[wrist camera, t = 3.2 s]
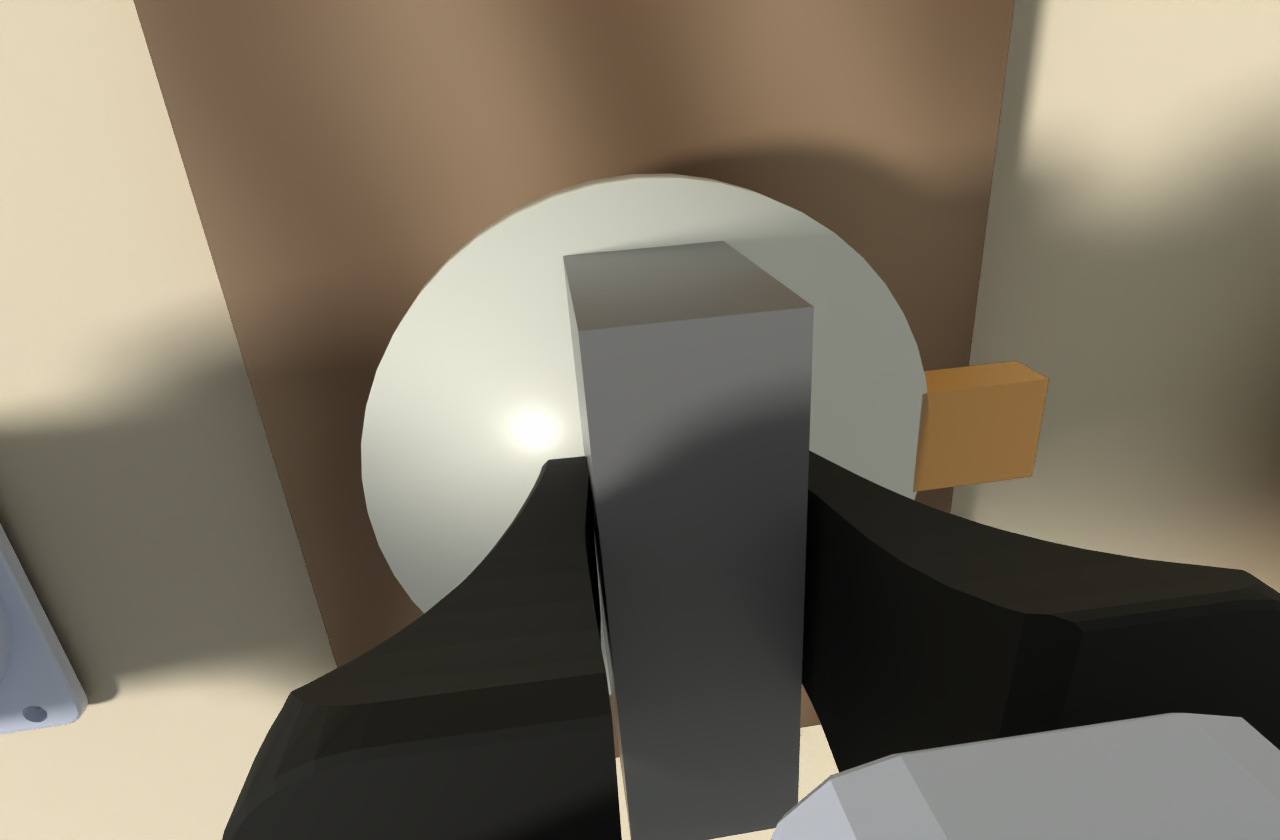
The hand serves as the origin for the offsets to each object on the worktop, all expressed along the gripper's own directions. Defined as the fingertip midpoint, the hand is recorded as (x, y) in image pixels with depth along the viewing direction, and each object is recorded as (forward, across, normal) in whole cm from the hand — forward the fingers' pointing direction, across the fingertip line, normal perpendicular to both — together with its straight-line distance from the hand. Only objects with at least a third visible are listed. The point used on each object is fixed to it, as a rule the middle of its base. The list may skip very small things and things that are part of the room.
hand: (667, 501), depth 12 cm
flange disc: (+2, -1, 0) cm, 2 cm away
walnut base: (+5, 0, 0) cm, 5 cm away
